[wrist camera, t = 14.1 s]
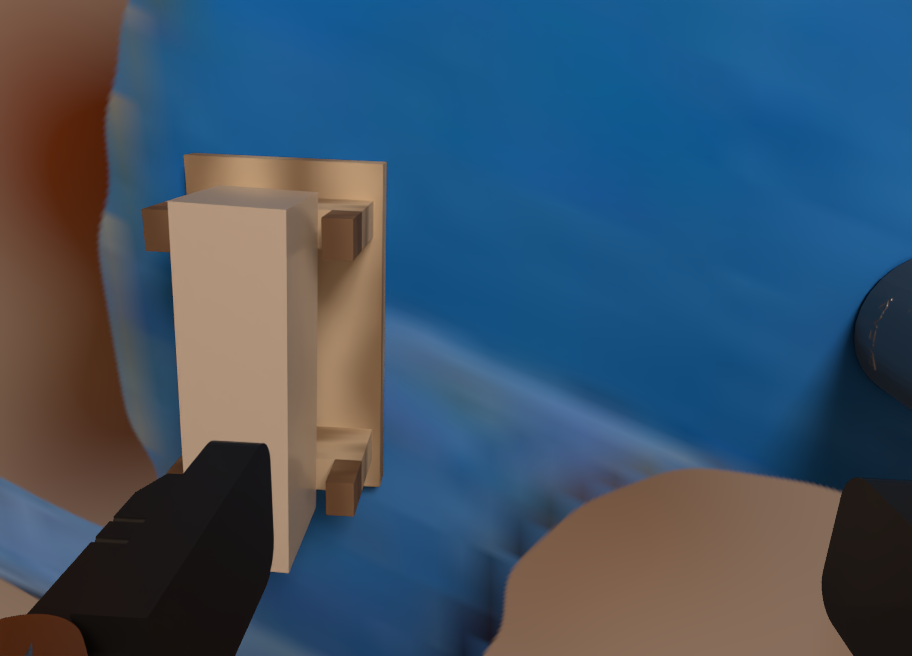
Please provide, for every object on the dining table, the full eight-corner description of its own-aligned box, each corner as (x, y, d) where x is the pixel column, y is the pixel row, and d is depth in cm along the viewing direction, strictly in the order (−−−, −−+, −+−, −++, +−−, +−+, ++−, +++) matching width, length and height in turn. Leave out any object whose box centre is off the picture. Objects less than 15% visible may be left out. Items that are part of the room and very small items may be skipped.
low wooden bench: (386, 162, 40) (363, 176, 32) (383, 474, 46) (363, 548, 39) (194, 153, 40) (126, 165, 33) (216, 465, 46) (163, 537, 39)
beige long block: (318, 192, 35) (286, 209, 29) (315, 506, 41) (288, 573, 35) (218, 185, 35) (167, 201, 30) (230, 500, 41) (188, 564, 35)
